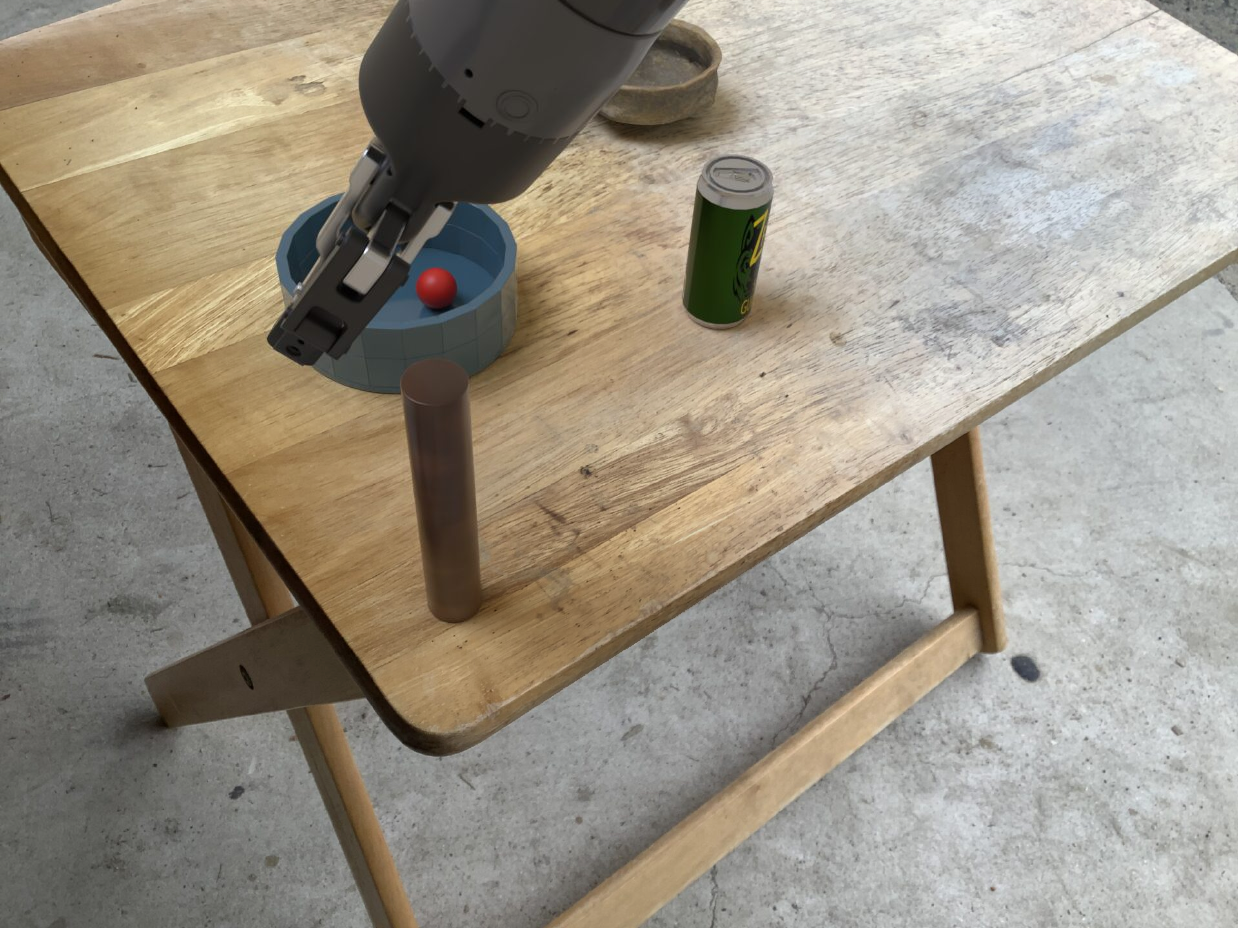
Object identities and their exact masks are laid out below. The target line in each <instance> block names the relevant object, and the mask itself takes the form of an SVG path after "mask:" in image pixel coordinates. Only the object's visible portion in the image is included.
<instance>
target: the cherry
mask: <svg viewBox="0 0 1238 928" xmlns="http://www.w3.org/2000/svg"><path fill="white" fill-rule="evenodd" d="M416 292H417V295H418V298H419V299H420V301H421V302H422V303H423V304H424V305H426V306H427V307H430V308H433V309H441V308H445V307H447V306H448V305H450V304H451V303H452V302H453V301H454V299H455V297H456V295H457V283H456V280H455V278H454V277H453V276H452V274H451V273H449V272H448V271H446V270H445V269H442V268H431V269H428V270H426V271H424V272H423V273H422V274H421V275H420V276H419V278H418V280H417V284H416Z"/></svg>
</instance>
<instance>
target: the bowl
mask: <svg viewBox="0 0 1238 928" xmlns="http://www.w3.org/2000/svg"><path fill="white" fill-rule="evenodd" d="M722 60H723V53H722V50H721V47H720V45H719V44H718V42H717V41H716V40H715V39H714V37H713V36H712V35H710V34H709V33H708V31H706V30H705V29H704V28H703V27H701V26H699V25H696V24H693V23H691V22H688V21H685V20H683V19H677V18H675V17H674V18H673V19H672V20H671V21H670V22H669V24H668V25H667V26H666V28H665V29H664V30H663V31H662V32H661V34H660V35H659V36H658V37H657V39H656V40H655V41H654V43H653V44H652V46H651V47H650V49H649V50H648V52H647V53H646V55H645V56H644V58H643V60H642V61H641V63H640V64H639V65H638V67H637V68H636V70H635V71H634V73H633V74H632V75H631V76H630V78H629V79H628V80H627V81H626V82H625V84H624V85H623V86H622V87H621V88H620V89H619V90H618V91H617V92H616V93H615V95H614V96H613V97H612V98H611V99H610V100H609V101H608V102H607V103H606V104H605V105H604V106H603V108H602V109H601V110H600V111H599V112H598V113H597V114H599V115H601V116H602V117H604V118H605V119H607V120H609V121H612V122H618V123H621V124H628V125H641V126H655V125H661V124H662V126H663V125H665V124H671V123H674V122H677V121H679V120H683V119H686V118H690V117H692V116H695V115H697V114H700V113H701V112H704V111H705V110H707V109H709V108H711V107H712V106H713V105H714V103H715V101H716V93H717V91H718V89H717V88H718V85H719V75H718V69H719V66H720V64H721V62H722Z"/></svg>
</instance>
